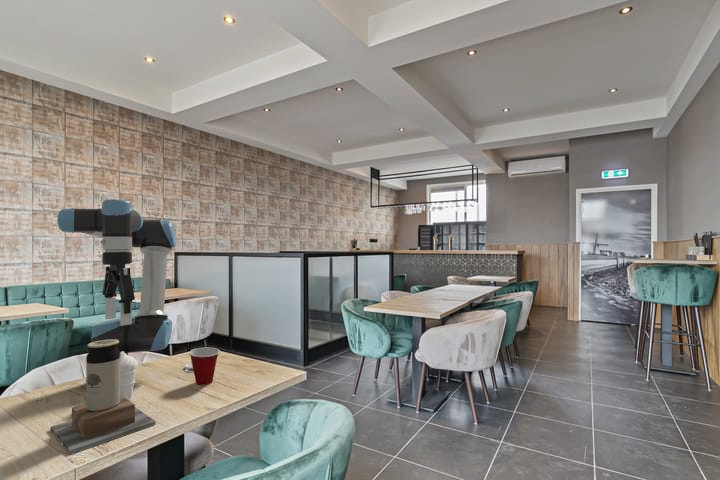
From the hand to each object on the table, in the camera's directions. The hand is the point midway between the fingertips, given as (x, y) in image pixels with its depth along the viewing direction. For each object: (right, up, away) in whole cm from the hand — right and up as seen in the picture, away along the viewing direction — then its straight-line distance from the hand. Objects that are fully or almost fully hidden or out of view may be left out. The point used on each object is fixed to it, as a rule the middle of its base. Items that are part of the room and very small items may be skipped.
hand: (118, 321), depth 114 cm
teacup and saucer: (+4, -30, +47) cm, 56 cm away
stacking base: (0, -29, -6) cm, 29 cm away
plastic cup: (+15, -29, +28) cm, 43 cm away
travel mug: (0, -23, -6) cm, 24 cm away
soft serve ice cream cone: (-7, -29, +13) cm, 33 cm away
